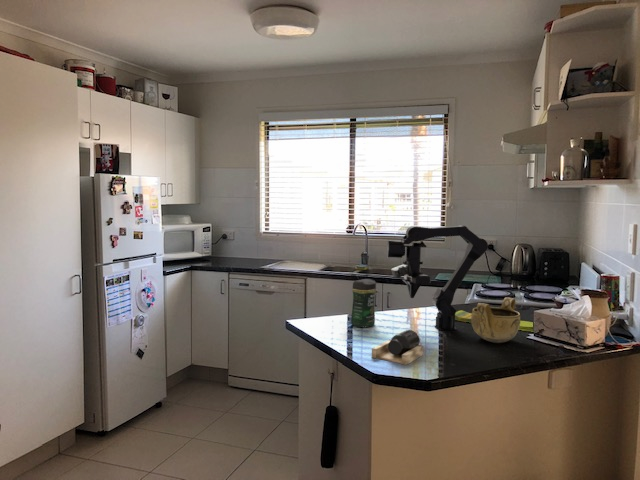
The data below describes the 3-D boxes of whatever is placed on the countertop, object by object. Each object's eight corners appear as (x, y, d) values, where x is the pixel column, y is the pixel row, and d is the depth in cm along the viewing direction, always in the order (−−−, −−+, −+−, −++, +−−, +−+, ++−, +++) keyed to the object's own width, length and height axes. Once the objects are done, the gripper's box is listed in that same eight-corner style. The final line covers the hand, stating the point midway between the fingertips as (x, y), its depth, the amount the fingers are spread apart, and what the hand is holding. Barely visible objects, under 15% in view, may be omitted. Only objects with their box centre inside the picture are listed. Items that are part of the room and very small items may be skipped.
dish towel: (461, 314, 233) (461, 307, 233) (546, 327, 213) (546, 320, 212) (448, 321, 221) (448, 313, 221) (537, 335, 200) (537, 327, 200)
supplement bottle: (421, 350, 172) (404, 360, 162) (402, 348, 176) (385, 357, 166) (419, 330, 172) (403, 338, 162) (401, 328, 176) (384, 336, 166)
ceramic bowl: (500, 351, 176) (503, 308, 175) (456, 340, 188) (458, 299, 187) (530, 340, 191) (533, 299, 190) (488, 330, 203) (490, 292, 202)
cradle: (389, 348, 177) (389, 339, 177) (422, 354, 171) (423, 345, 171) (371, 357, 167) (371, 348, 166) (406, 365, 160) (406, 355, 160)
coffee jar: (363, 329, 202) (365, 281, 200) (347, 325, 207) (349, 279, 206) (378, 324, 209) (379, 279, 208) (362, 321, 214) (363, 276, 213)
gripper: (384, 255, 210) (383, 294, 211) (404, 261, 192) (403, 303, 193) (409, 255, 213) (408, 293, 214) (432, 261, 195) (430, 302, 196)
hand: (411, 297), depth 204 cm, fingers closed
